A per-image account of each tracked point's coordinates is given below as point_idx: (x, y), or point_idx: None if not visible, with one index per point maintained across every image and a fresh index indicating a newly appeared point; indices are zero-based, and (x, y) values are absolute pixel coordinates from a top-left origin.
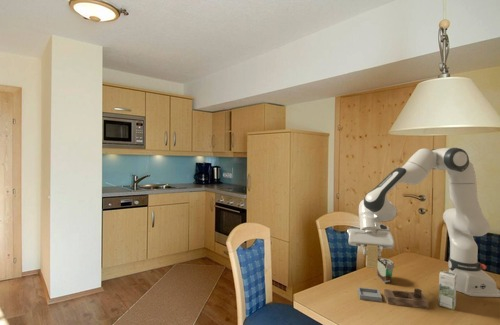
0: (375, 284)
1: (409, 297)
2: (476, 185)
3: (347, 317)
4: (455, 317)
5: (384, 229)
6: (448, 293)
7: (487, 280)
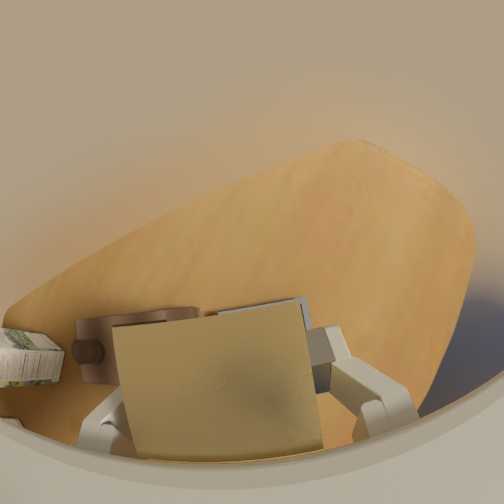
0: None
1: None
2: None
3: (324, 160)
4: (49, 294)
5: None
6: (20, 336)
7: None
